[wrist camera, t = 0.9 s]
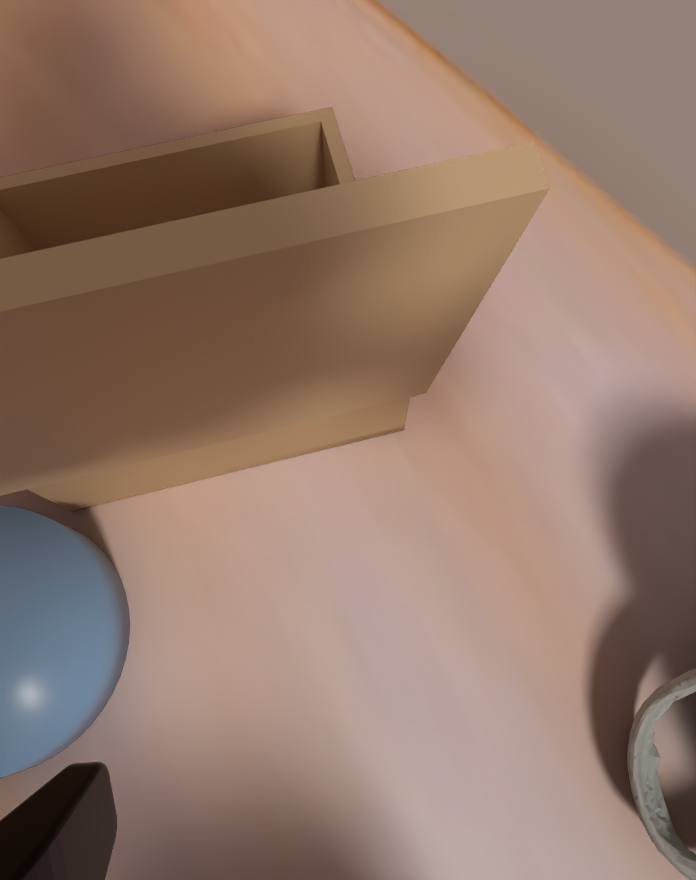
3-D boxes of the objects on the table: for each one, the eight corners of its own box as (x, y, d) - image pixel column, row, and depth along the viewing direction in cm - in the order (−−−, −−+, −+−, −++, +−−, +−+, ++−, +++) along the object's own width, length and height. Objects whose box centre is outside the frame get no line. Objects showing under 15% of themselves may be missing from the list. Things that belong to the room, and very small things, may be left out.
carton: (403, 429, 22) (414, 370, 18) (71, 511, 22) (-10, 471, 17) (337, 207, 26) (332, 106, 21) (46, 272, 25) (-29, 183, 20)
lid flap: (419, 372, 17) (425, 393, 17) (-22, 477, 16) (-19, 500, 16) (534, 141, 7) (549, 188, 7) (-563, 382, 7) (-560, 437, 6)
